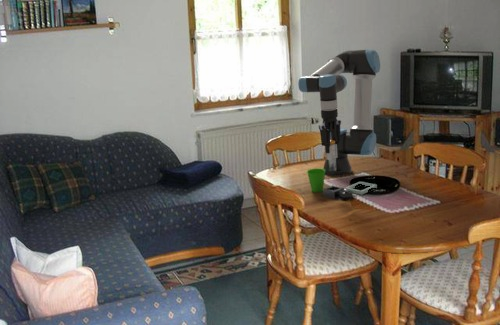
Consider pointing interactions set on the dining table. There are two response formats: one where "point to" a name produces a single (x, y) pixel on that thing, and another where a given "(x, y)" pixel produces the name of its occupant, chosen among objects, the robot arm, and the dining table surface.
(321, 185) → the cup
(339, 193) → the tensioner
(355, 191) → the tray
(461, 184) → the dining table surface
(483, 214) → the dining table surface
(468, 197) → the dining table surface
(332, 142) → the pin
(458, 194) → the dining table surface
